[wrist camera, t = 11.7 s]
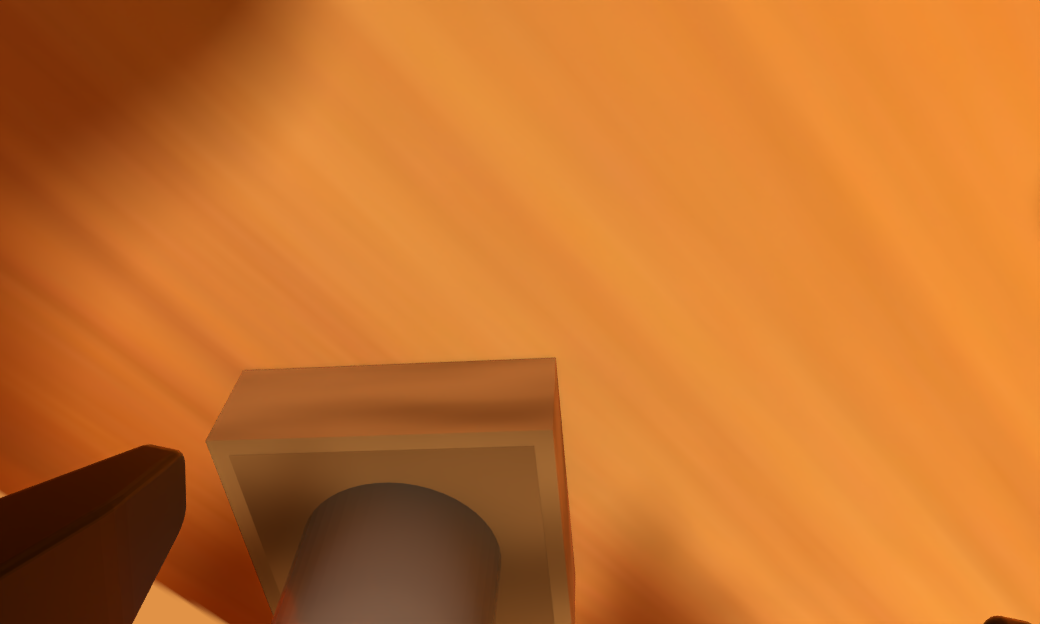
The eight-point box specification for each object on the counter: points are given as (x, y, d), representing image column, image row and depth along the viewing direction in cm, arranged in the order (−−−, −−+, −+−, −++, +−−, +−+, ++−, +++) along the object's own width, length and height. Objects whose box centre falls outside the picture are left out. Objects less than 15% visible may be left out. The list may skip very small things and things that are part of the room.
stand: (243, 370, 25) (204, 442, 22) (555, 357, 24) (552, 431, 22) (313, 578, 30) (288, 657, 27) (575, 574, 29) (574, 655, 26)
